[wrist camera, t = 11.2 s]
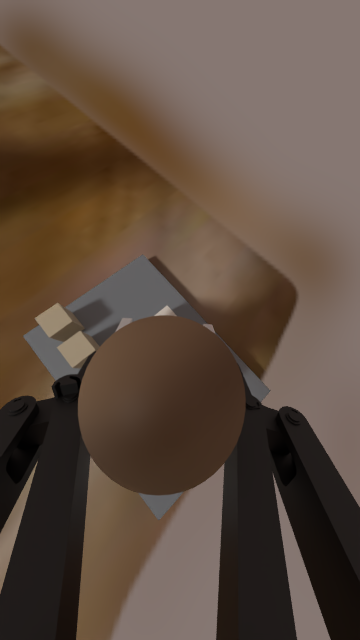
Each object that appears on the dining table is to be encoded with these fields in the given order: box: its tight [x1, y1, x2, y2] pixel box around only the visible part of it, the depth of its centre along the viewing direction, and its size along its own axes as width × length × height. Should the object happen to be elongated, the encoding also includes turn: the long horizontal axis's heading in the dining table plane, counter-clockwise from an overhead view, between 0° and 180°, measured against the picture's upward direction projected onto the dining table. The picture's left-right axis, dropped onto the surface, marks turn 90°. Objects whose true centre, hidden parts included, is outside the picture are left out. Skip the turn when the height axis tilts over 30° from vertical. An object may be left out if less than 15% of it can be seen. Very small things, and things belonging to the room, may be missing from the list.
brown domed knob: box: [78, 315, 246, 496], centre depth 12 cm, size 7×7×12 cm
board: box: [23, 255, 270, 520], centre depth 19 cm, size 22×16×4 cm
